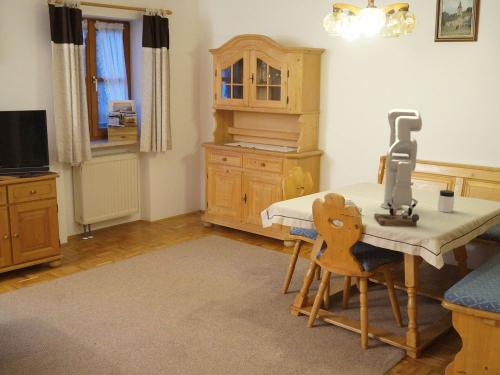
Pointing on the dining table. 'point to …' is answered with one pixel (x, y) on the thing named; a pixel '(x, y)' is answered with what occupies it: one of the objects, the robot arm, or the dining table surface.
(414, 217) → the black ball
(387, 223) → the board
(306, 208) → the dining table surface
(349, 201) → the penguin figurine
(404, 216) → the steel ball
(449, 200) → the jar
